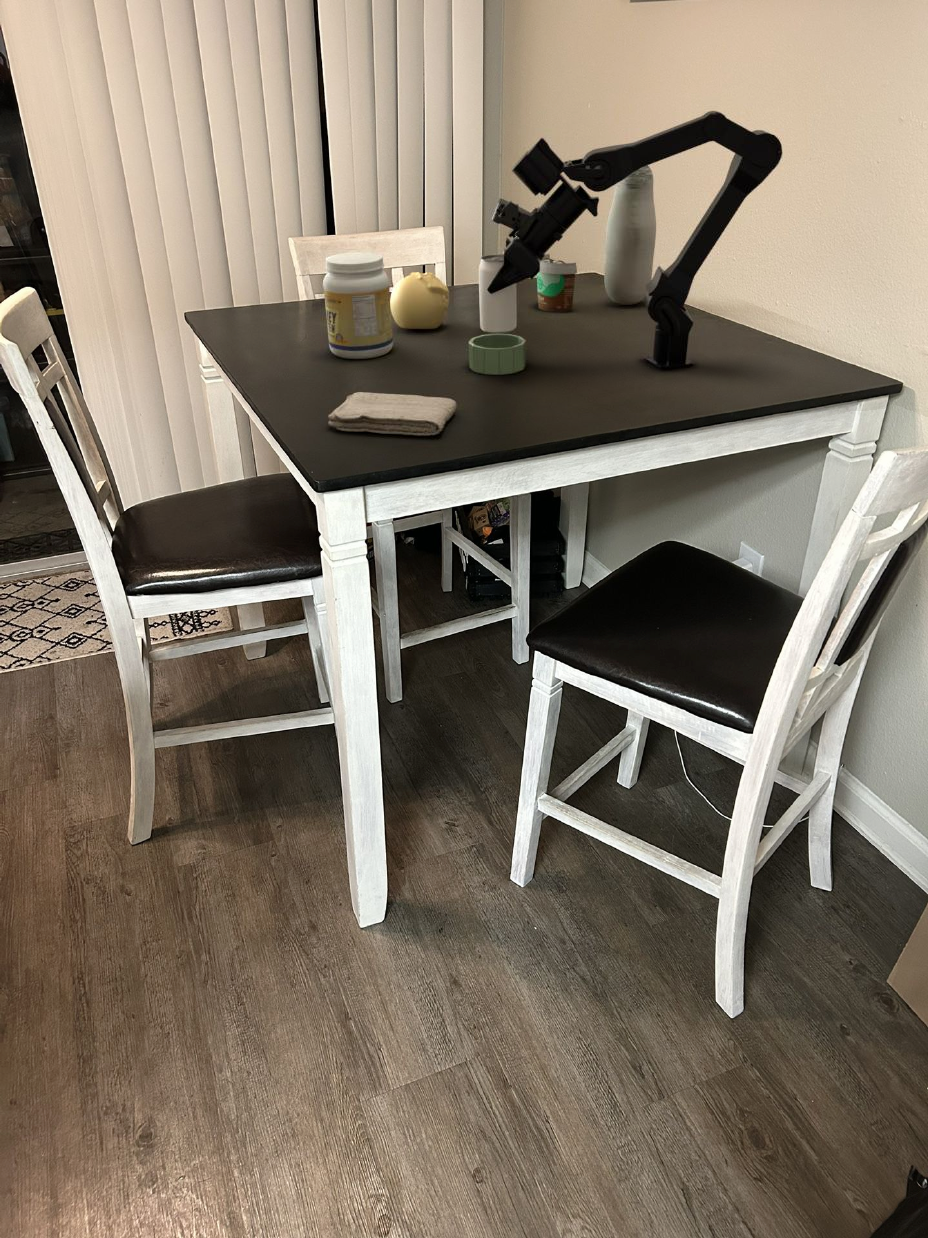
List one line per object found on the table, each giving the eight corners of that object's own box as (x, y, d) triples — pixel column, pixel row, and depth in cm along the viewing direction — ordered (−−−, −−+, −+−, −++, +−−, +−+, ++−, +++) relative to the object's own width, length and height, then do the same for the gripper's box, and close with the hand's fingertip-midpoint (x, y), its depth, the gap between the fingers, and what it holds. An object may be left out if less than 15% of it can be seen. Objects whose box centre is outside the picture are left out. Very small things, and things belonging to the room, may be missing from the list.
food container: (522, 303, 203) (523, 256, 198) (547, 300, 205) (548, 253, 200) (550, 315, 194) (551, 266, 188) (575, 312, 196) (577, 262, 190)
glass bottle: (595, 301, 204) (602, 160, 189) (637, 296, 206) (647, 158, 191) (614, 311, 196) (623, 165, 181) (657, 306, 198) (670, 162, 183)
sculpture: (458, 330, 186) (456, 274, 180) (402, 337, 182) (398, 280, 176) (438, 317, 195) (436, 264, 189) (384, 324, 191) (381, 269, 185)
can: (518, 324, 164) (518, 253, 158) (514, 333, 159) (514, 260, 153) (482, 324, 165) (481, 253, 159) (477, 333, 160) (475, 261, 154)
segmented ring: (532, 370, 161) (533, 345, 159) (479, 377, 159) (479, 351, 157) (514, 356, 169) (514, 331, 167) (463, 361, 167) (462, 336, 165)
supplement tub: (323, 347, 177) (313, 254, 168) (383, 339, 181) (376, 248, 172) (338, 363, 168) (329, 266, 159) (401, 355, 171) (396, 259, 162)
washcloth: (351, 406, 148) (349, 387, 146) (459, 411, 144) (458, 392, 142) (325, 432, 138) (323, 412, 136) (441, 439, 134) (440, 418, 133)
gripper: (521, 173, 157) (460, 243, 164) (518, 187, 141) (450, 264, 148) (566, 221, 161) (504, 288, 167) (568, 240, 145) (500, 313, 152)
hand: (489, 287), depth 159 cm, fingers closed on can, 6 cm apart
